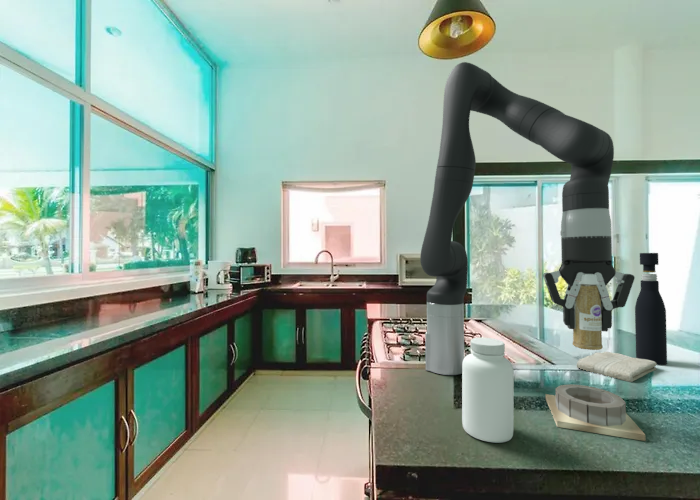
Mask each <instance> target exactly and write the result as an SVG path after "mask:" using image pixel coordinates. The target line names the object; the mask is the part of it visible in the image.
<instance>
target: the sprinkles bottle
mask: <svg viewBox="0 0 700 500" xmlns="http://www.w3.org/2000/svg"><path fill="white" fill-rule="evenodd" d="M579 284H581V285H580V286H581V287H580V290H579V293H578V295H577V297H576V299H575V302H574V304H573V307H572V308H573V309H574V329H572V330H573V331H572V335H573V336H572V337H573V338H572V339H573V340H572V345H573V347H575V348H579V349H581V350H587V351H588V350H589V351H600V350H602V349H603V348H604V347H603V340H602V338H603V337H602V336H603V335H602V332H603V331H602V313H601V298H600V294H599V290H598V287H597V285H598V284H599V282H598V281H597V276H596V275H594V274H584V275H582V281H581V282H579ZM576 286H577V285H576Z"/></svg>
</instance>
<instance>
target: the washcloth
mask: <svg viewBox="0 0 700 500" xmlns="http://www.w3.org/2000/svg"><path fill="white" fill-rule="evenodd" d="M656 366H658V365H657V363H656V362H654V361H651V360H646V359H639V358H636V357H633V356H632V357H631V356H629V355H625V354H621V353H617V352H610V351H604V352H597V351H596V352H594V353H593V354H590V355H587V356H584V357H583V358H579V359H578V360H577V362H576V368H577V369H578V368H580V369H579V370H581V369H583V370H582V371H584V370H586V371H585V372H588V371H590V372H589V373H592V372H594V373H593V374H597V373H598V375H601V374H602V375H601V376H606V377H608V376H609V378H612V377H613V379H616V378H617V380H621V381H624V382H629V383H633V382H634V381H636V380H638V379H640V378H643V377H644V376H646V375H647V374H648V375H649V373H652V372H654V371H657V367H656Z"/></svg>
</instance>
